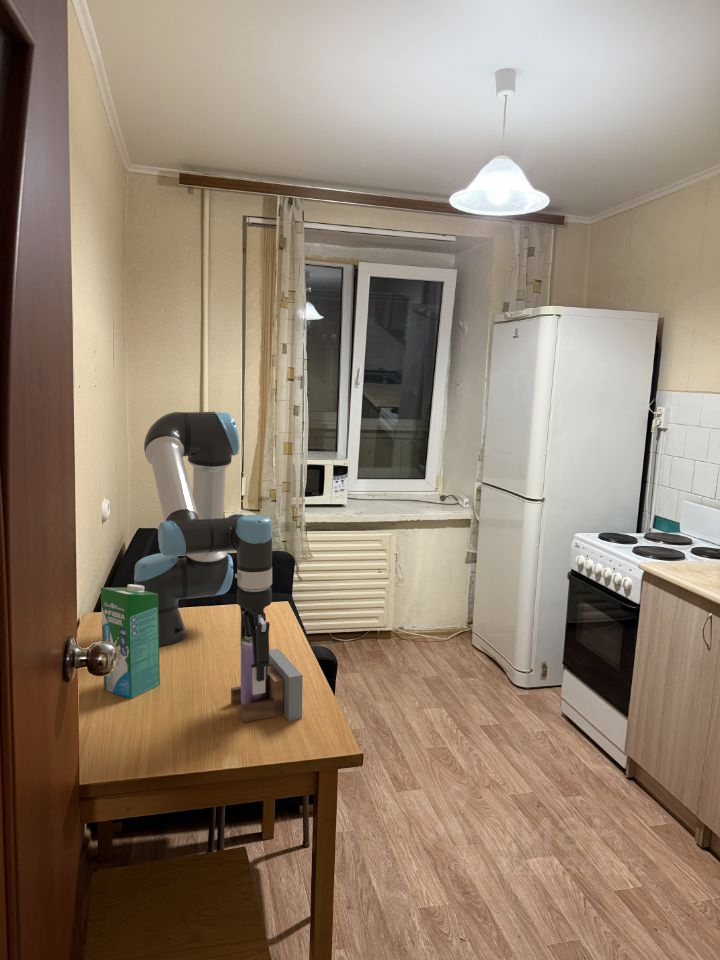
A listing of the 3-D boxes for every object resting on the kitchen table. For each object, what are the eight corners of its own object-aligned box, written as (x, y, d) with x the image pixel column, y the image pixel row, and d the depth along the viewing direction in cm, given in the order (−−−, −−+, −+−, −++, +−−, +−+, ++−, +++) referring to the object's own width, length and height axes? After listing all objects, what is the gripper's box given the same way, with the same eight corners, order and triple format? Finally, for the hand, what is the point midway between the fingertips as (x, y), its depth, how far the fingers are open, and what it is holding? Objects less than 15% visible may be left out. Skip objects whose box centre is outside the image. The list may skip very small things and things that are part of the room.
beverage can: (262, 710, 150) (262, 645, 148) (236, 707, 151) (236, 642, 149) (271, 698, 156) (271, 635, 153) (246, 695, 157) (246, 633, 155)
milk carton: (160, 684, 164) (158, 584, 161) (130, 699, 157) (127, 594, 153) (134, 676, 169) (131, 577, 165) (103, 689, 161) (100, 587, 158)
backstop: (265, 690, 163) (265, 650, 161) (277, 688, 164) (278, 648, 163) (289, 721, 149) (289, 677, 147) (302, 718, 150) (302, 675, 149)
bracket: (230, 702, 156) (230, 669, 155) (268, 695, 160) (268, 662, 159) (243, 722, 147) (243, 687, 146) (283, 714, 151) (283, 680, 150)
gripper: (226, 576, 156) (226, 672, 159) (250, 601, 139) (250, 708, 143) (257, 573, 159) (257, 667, 163) (285, 597, 143) (284, 702, 146)
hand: (254, 686), depth 153 cm, fingers closed on beverage can, 6 cm apart
